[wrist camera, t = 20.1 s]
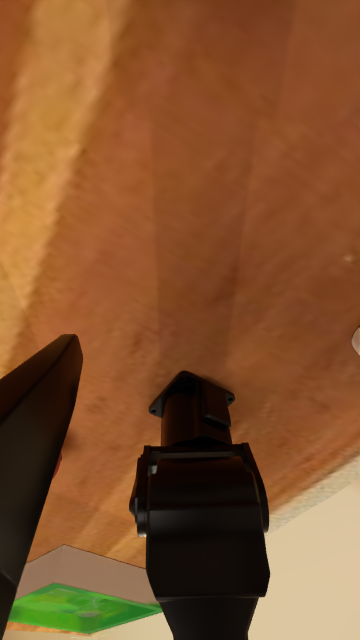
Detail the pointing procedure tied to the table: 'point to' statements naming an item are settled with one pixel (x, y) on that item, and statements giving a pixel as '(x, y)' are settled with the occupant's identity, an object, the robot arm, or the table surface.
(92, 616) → the tray
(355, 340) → the decorative finial
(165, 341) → the table surface
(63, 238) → the table surface
